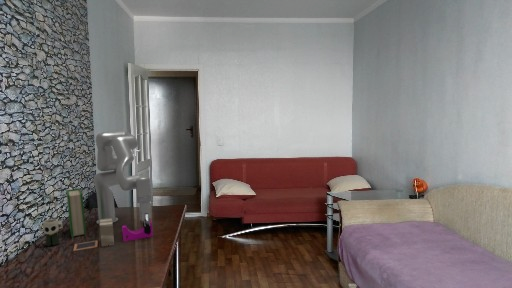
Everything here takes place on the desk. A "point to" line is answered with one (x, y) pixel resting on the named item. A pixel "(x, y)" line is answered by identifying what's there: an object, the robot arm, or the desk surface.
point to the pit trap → (85, 245)
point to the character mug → (51, 231)
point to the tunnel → (106, 232)
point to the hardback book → (76, 212)
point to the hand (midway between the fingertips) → (146, 231)
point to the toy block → (135, 233)
